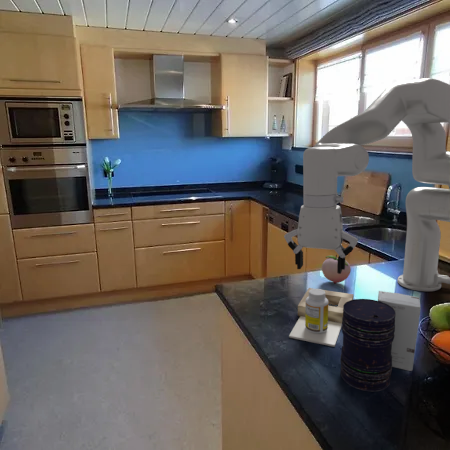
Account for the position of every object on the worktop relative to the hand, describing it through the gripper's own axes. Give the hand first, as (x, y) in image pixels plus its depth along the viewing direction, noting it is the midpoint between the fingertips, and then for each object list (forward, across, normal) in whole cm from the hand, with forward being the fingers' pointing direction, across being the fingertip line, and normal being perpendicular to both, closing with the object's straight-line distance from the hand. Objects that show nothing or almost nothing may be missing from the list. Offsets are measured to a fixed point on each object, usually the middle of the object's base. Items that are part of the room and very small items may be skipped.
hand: (319, 269), depth 91 cm
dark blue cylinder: (+16, -12, +15) cm, 26 cm away
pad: (+16, +1, +1) cm, 16 cm away
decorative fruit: (+18, +2, -32) cm, 37 cm away
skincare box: (+17, -17, +7) cm, 25 cm away
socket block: (+17, +1, -12) cm, 21 cm away
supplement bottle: (+16, +1, +1) cm, 16 cm away
